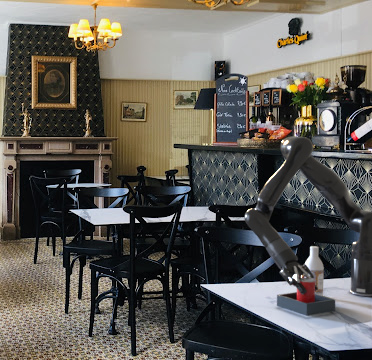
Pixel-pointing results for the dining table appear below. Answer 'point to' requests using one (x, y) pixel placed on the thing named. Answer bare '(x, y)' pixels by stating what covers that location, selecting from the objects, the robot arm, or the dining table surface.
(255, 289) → the dining table surface
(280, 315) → the dining table surface
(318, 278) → the bath foam
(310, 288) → the can
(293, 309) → the tub
